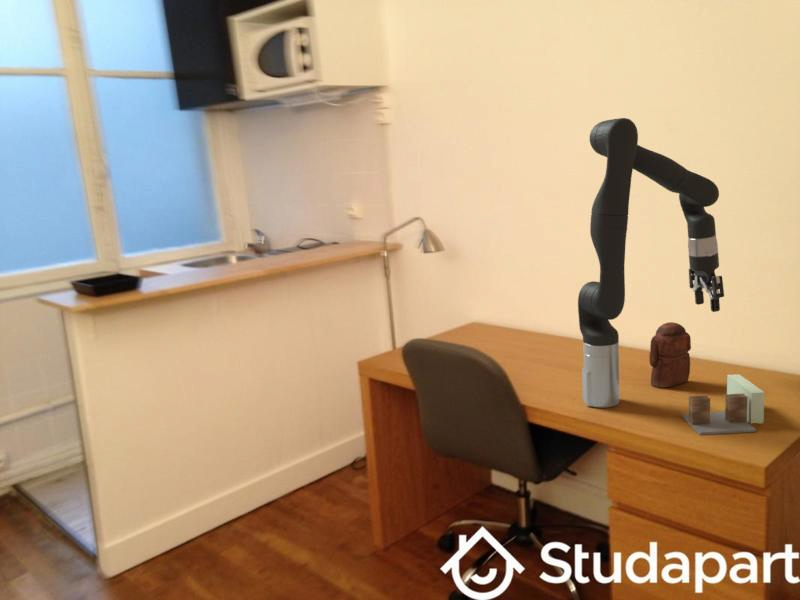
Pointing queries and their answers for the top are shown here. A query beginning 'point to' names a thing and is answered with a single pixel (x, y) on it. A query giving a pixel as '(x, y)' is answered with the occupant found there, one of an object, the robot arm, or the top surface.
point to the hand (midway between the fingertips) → (707, 307)
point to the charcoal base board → (720, 425)
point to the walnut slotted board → (733, 409)
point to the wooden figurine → (670, 355)
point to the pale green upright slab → (754, 394)
